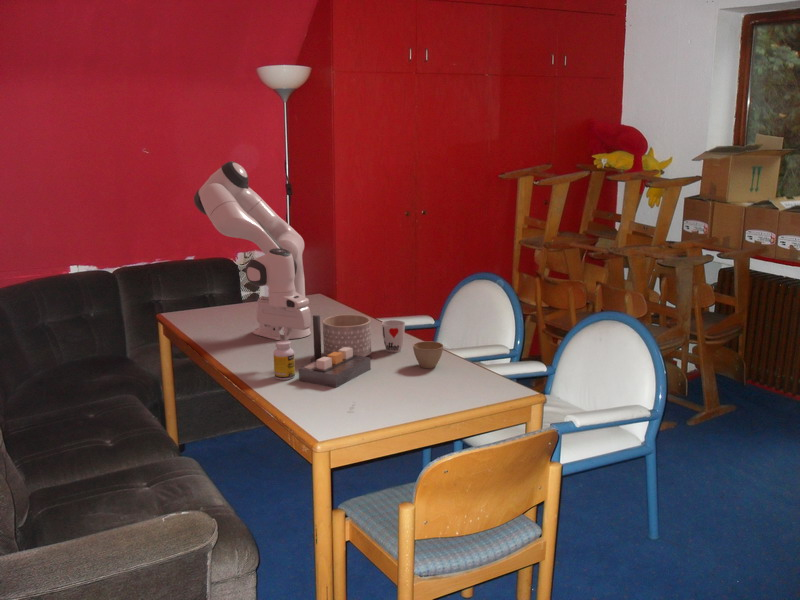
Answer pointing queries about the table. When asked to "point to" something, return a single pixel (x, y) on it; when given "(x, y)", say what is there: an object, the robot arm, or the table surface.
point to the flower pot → (428, 353)
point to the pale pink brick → (346, 352)
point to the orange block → (336, 357)
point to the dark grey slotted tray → (335, 371)
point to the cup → (393, 335)
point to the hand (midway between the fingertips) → (284, 339)
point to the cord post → (316, 338)
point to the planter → (347, 334)
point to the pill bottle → (284, 360)
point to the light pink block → (324, 363)
